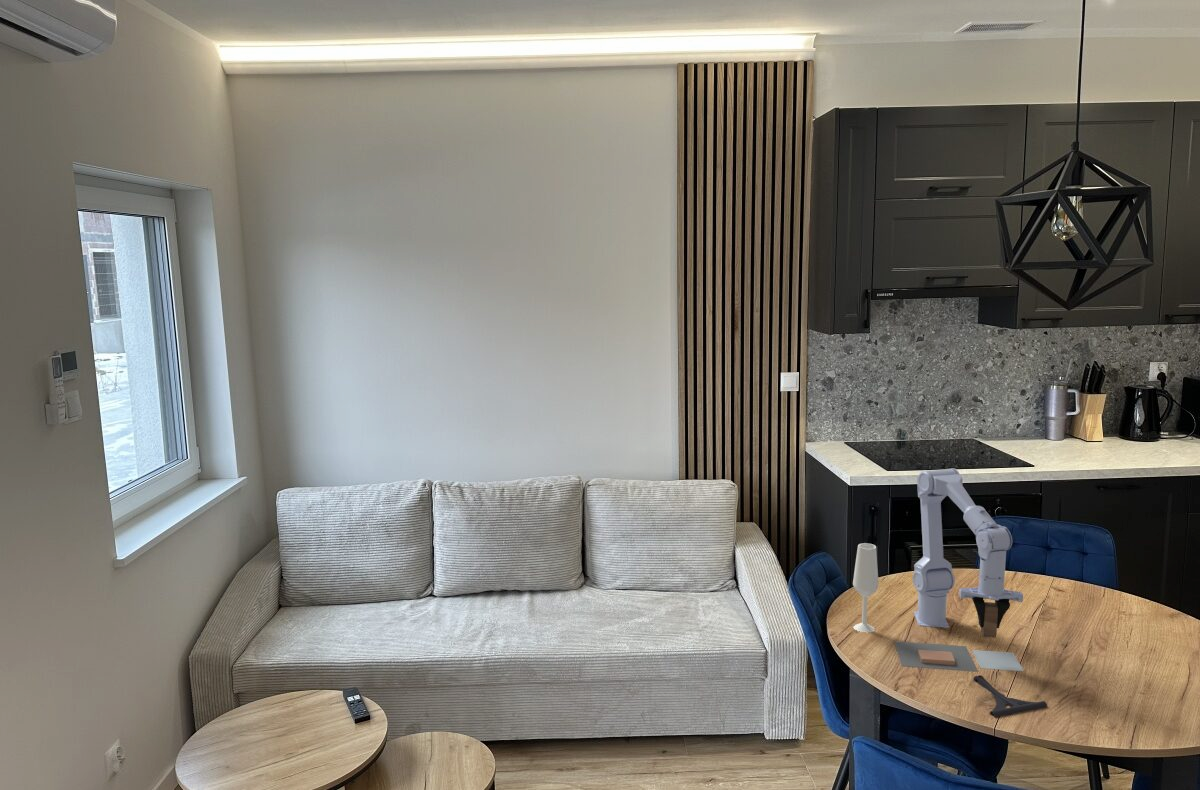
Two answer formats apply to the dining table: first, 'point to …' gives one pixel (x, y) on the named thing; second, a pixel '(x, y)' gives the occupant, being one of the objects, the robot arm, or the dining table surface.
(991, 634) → the walnut stick
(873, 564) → the champagne flute
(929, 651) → the tile
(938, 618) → the robot arm
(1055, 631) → the dining table surface
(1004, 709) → the bracket
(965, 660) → the slate mat
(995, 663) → the rest pad
